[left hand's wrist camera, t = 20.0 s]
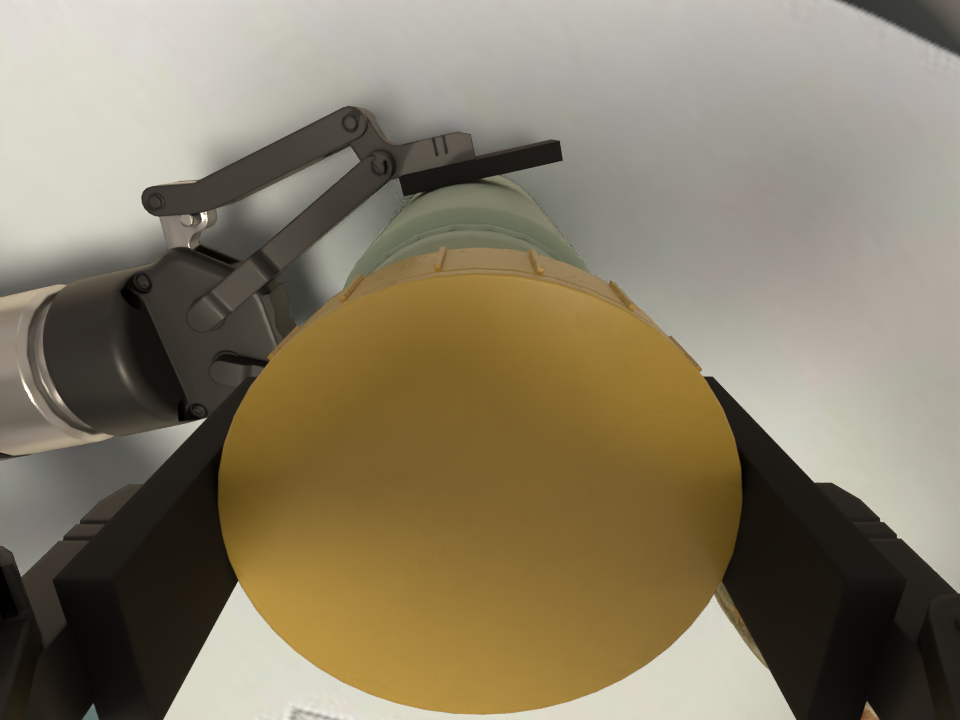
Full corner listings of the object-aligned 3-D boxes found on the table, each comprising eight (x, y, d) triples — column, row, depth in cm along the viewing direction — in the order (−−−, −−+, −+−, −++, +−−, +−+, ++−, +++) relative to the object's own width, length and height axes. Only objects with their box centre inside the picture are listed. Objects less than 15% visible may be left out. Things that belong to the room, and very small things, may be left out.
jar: (373, 195, 31) (271, 263, 16) (529, 150, 30) (588, 174, 15) (421, 341, 34) (377, 520, 19) (564, 303, 34) (643, 457, 18)
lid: (782, 493, 13) (840, 563, 11) (447, 689, 15) (442, 778, 13) (528, 134, 10) (540, 134, 8) (164, 435, 12) (100, 495, 10)
